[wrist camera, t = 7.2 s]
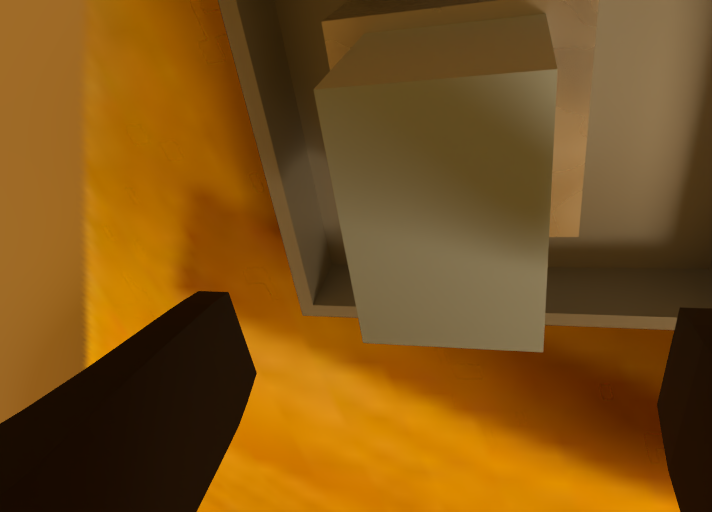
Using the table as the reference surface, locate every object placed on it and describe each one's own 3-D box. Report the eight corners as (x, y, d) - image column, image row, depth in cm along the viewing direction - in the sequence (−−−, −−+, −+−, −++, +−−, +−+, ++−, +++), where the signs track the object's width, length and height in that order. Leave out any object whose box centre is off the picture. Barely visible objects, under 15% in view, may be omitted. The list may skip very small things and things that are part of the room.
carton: (545, 13, 12) (557, 68, 8) (537, 248, 15) (543, 352, 12) (363, 33, 13) (313, 89, 9) (393, 248, 16) (363, 342, 13)
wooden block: (583, -37, 14) (600, -12, 11) (568, 176, 17) (578, 237, 14) (356, -6, 15) (321, 21, 13) (382, 182, 19) (359, 237, 16)
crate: (836, -176, 12) (918, -187, 9) (718, 272, 18) (748, 333, 16) (249, -73, 16) (201, -61, 13) (325, 267, 22) (302, 315, 20)
